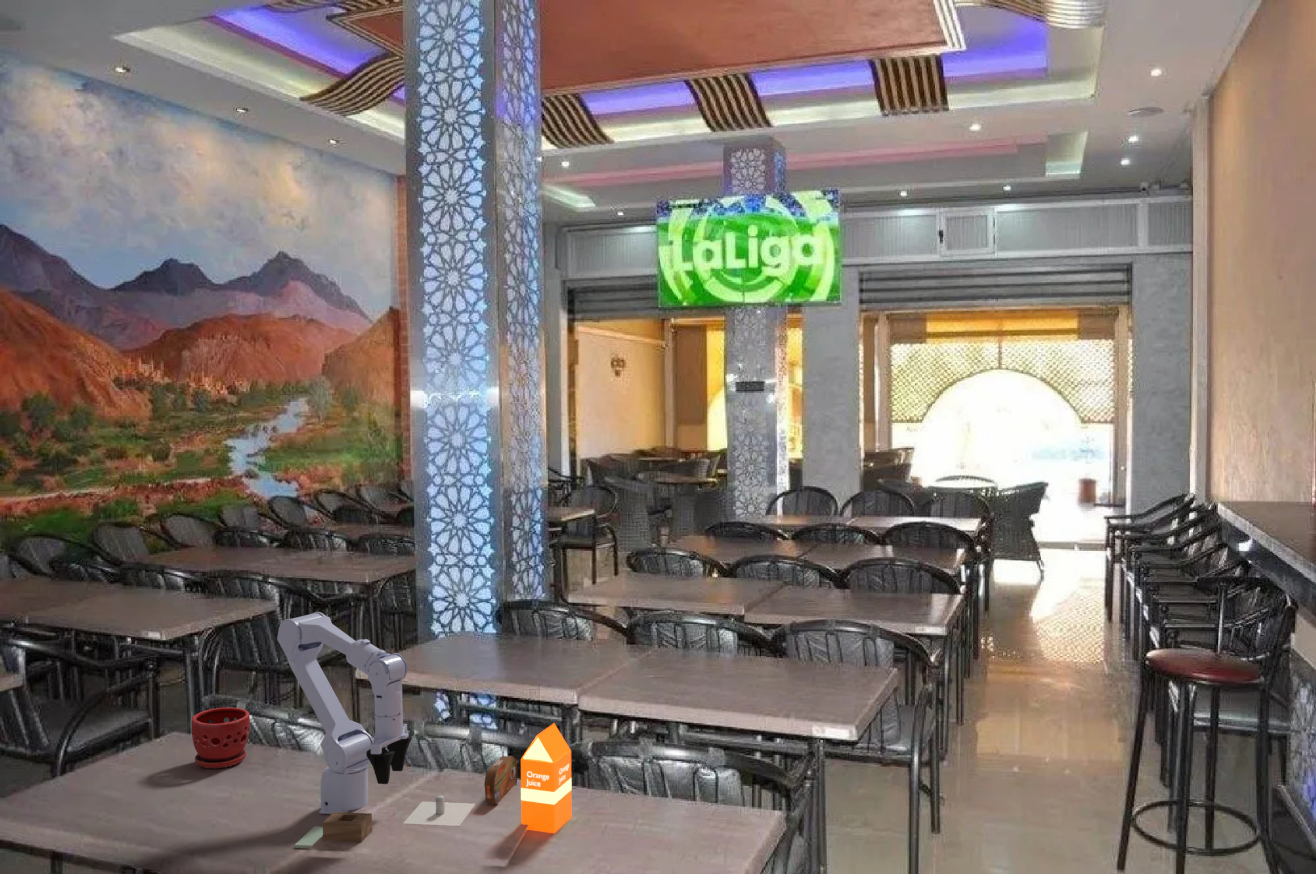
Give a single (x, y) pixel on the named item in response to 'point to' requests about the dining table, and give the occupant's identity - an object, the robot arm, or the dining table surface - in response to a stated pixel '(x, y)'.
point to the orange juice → (546, 782)
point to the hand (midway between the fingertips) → (390, 777)
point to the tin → (500, 779)
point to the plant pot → (220, 737)
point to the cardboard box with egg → (347, 827)
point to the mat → (310, 838)
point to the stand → (439, 813)
